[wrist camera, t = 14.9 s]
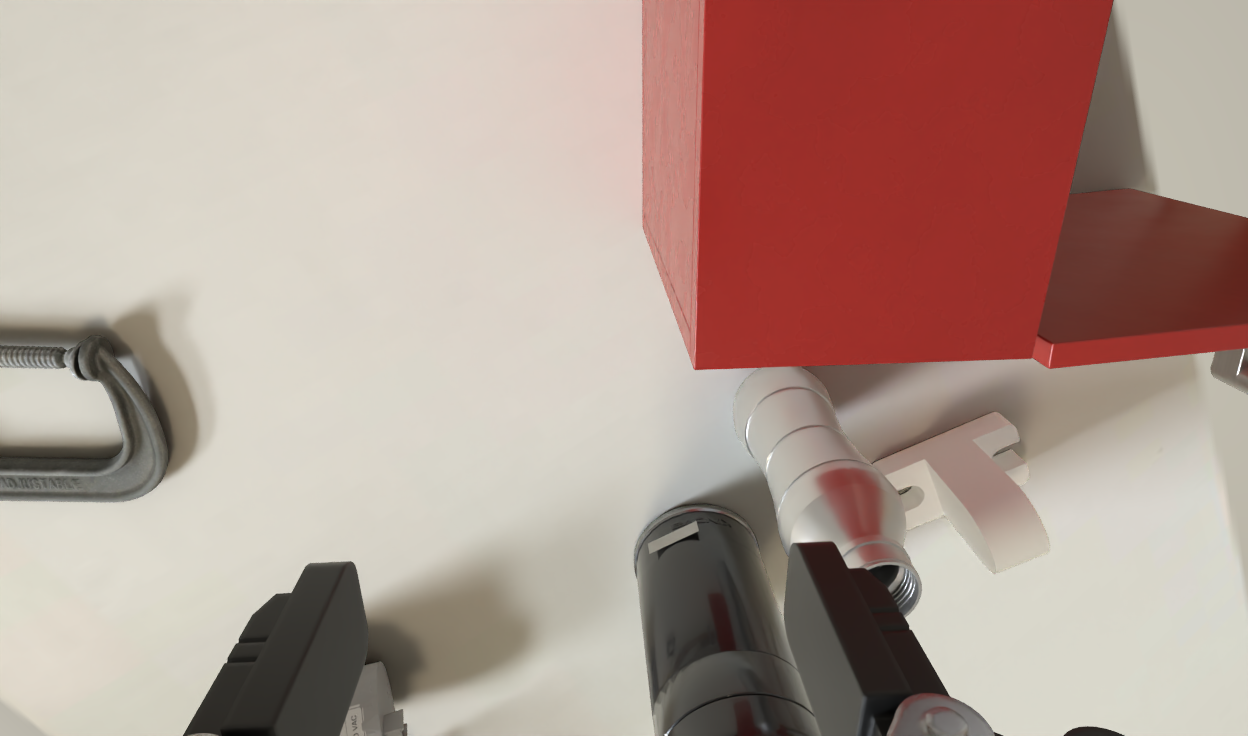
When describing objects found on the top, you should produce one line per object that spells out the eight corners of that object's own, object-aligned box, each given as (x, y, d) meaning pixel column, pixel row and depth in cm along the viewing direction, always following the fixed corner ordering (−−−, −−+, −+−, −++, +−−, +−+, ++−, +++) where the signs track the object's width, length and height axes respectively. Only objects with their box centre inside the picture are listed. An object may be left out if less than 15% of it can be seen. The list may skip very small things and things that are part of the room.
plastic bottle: (827, 355, 50) (973, 533, 31) (809, 443, 52) (933, 655, 34) (733, 349, 49) (825, 528, 31) (720, 438, 52) (797, 652, 33)
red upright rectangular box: (868, -115, 39) (1181, -293, 19) (833, 223, 46) (1032, 359, 26) (642, -115, 38) (713, -298, 18) (642, 228, 45) (693, 370, 25)
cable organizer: (1016, 466, 54) (1105, 551, 45) (889, 518, 55) (951, 611, 46) (999, 409, 52) (1089, 485, 43) (868, 464, 53) (928, 551, 44)
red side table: (1109, 298, 49) (1472, 468, 29) (842, 325, 49) (1025, 516, 29) (1129, 188, 46) (1549, 292, 26) (846, 216, 46) (1052, 343, 26)
